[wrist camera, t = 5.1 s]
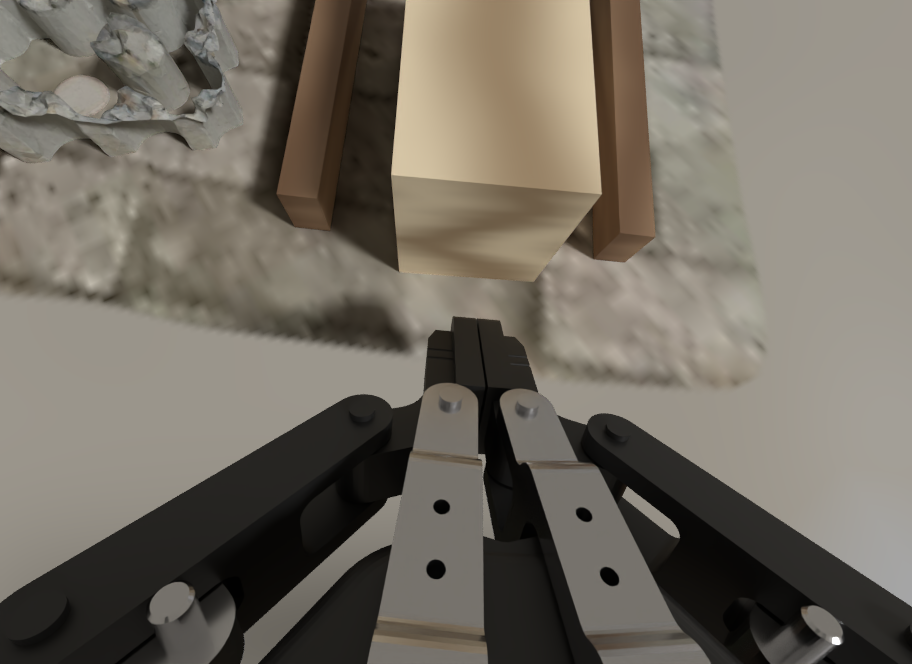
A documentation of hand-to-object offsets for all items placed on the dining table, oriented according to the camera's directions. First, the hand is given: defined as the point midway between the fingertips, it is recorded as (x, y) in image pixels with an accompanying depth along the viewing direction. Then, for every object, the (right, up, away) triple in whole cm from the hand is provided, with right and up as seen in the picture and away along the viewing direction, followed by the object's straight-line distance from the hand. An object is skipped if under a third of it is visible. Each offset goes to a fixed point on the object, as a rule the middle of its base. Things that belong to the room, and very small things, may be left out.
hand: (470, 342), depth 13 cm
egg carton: (-16, +11, +6) cm, 20 cm away
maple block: (0, +9, +7) cm, 11 cm away
